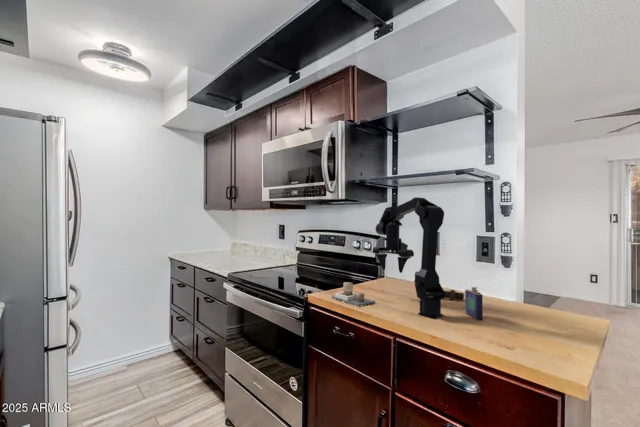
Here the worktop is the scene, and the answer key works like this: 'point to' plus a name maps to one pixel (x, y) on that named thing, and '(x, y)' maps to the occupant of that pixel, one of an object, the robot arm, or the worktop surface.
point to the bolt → (453, 295)
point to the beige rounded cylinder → (348, 288)
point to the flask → (474, 304)
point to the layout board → (353, 298)
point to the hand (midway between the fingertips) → (392, 271)
